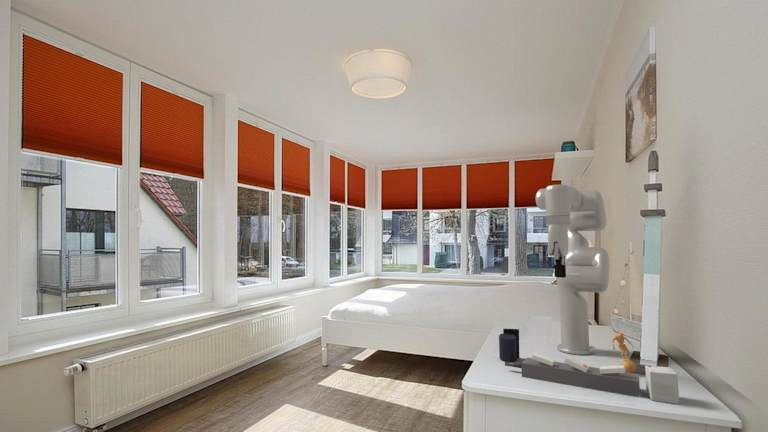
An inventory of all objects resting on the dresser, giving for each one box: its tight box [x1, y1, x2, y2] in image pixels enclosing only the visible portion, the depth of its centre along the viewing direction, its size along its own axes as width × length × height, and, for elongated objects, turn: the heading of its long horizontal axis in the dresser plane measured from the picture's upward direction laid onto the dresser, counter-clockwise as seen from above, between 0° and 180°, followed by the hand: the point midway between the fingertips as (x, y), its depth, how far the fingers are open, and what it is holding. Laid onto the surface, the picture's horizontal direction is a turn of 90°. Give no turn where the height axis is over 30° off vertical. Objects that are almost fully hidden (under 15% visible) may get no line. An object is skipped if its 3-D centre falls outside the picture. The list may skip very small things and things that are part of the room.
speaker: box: [498, 328, 520, 363], centre depth 138 cm, size 8×6×10 cm
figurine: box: [611, 332, 637, 373], centre depth 124 cm, size 8×6×12 cm
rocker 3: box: [599, 364, 626, 374], centre depth 109 cm, size 3×6×1 cm, turn 56°
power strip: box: [504, 357, 641, 398], centre depth 117 cm, size 7×36×4 cm, turn 56°
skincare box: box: [644, 365, 680, 404], centre depth 103 cm, size 6×6×7 cm
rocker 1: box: [531, 352, 556, 366], centre depth 119 cm, size 3×6×1 cm, turn 56°
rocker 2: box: [563, 355, 590, 372], centre depth 114 cm, size 3×6×1 cm, turn 56°
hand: (560, 277), depth 131 cm, fingers closed
